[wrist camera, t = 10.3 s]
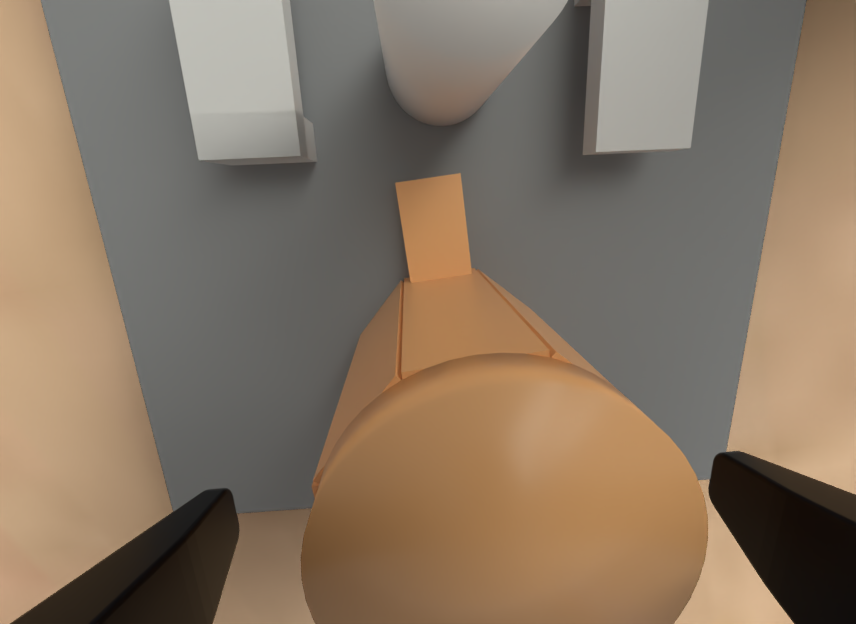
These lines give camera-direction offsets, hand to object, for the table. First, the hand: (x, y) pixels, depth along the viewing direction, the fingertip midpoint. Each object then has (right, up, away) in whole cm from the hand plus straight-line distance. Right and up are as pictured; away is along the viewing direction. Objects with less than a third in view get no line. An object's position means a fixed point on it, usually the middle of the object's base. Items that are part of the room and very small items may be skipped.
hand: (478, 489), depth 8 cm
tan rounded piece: (0, +2, +6) cm, 6 cm away
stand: (0, +7, +6) cm, 9 cm away
